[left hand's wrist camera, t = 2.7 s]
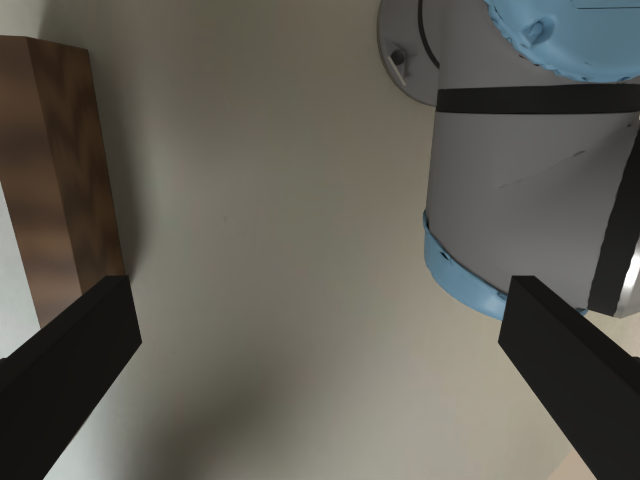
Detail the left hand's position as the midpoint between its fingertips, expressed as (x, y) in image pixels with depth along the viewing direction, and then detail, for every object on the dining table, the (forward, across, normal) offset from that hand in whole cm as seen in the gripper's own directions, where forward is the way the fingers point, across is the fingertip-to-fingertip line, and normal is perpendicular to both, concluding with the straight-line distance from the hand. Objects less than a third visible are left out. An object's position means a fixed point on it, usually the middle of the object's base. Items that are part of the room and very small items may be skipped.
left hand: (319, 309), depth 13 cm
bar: (+30, -26, -2) cm, 40 cm away
